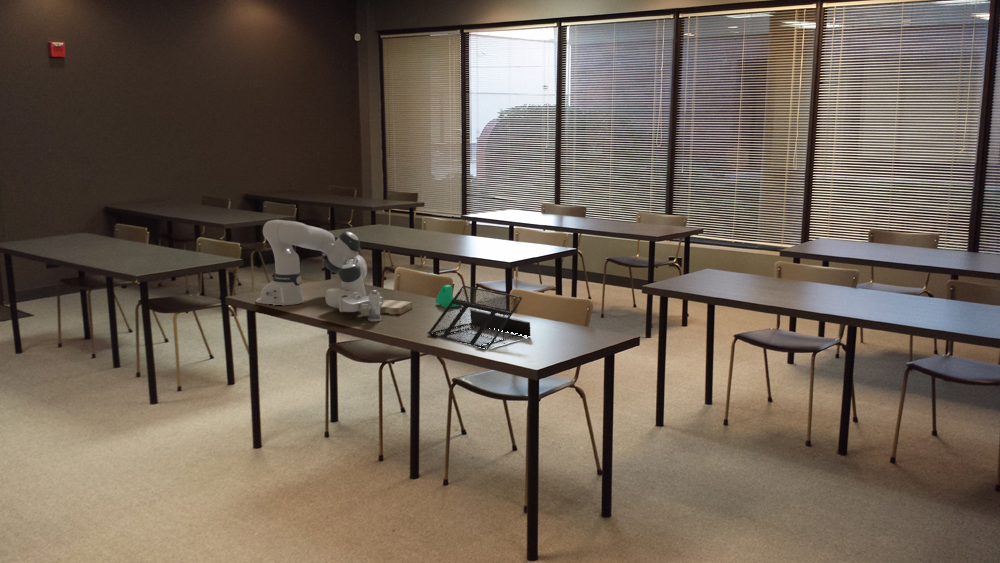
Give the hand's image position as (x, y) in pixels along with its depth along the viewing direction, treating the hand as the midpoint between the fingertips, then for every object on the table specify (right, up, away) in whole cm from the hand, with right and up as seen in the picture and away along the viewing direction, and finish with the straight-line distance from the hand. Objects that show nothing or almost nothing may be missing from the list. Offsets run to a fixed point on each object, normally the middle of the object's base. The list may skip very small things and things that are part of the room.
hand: (375, 305), depth 356 cm
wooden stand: (+4, -3, +21) cm, 21 cm away
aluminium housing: (-1, -6, +2) cm, 7 cm away
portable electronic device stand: (+45, -12, -23) cm, 52 cm away
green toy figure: (+30, -1, +32) cm, 44 cm away
